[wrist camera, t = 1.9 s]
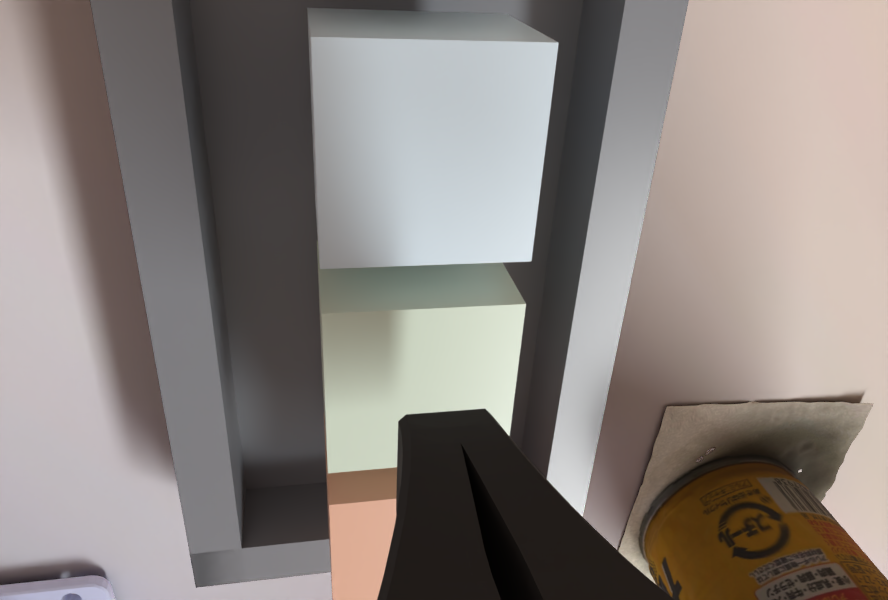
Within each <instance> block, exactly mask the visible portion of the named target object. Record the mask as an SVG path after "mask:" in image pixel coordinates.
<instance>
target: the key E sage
mask: <svg viewBox="0 0 888 600" xmlns="http://www.w3.org/2000/svg"><path fill="white" fill-rule="evenodd" d="M317 258H318V283H319V308H320V332H321V357H322V381H323V399H324V416H325V433H326V450H327V467H328V473H339V472H350V471H361V470H372V469H383V468H395V467H397V450H398V421H399V420H400V419H401V418H403V417H404V416H405V415H406V414H419V413H433V412H446V411H459V410H473V409H486V410H487V411H488V412H489V413H490V414H491V415H492V416H493V417H494V418H495V419H496V421H497V422H498V423H499V424H500V426H501V427H502V428H503V429H504V430H505V432H506V433H507V434H508V435H509V436H510V429H511V421H512V413H513V405H514V397H515V389H516V381H517V373H518V365H519V357H520V349H521V341H522V333H523V325H524V317H525V309H526V303H525V301H524V299H523V298H522V296H521V294H520V292H519V291H518V289H517V287H516V285H515V284H514V282H513V280H512V278H511V277H510V275H509V273H508V271H507V270H506V268H505V266H504V264H503V263H475V264H447V265H420V266H393V267H365V268H338V269H320V264H319V249H318V241H317Z"/></svg>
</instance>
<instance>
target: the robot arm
mask: <svg viewBox="0 0 888 600" xmlns="http://www.w3.org/2000/svg"><path fill="white" fill-rule="evenodd" d="M71 593H73V594H71ZM0 600H115V596H114V592H113V589H112V585H111V583H110V582H109V581H108V580H107V579H105V578H104V577H101V576H97V575H90V576H81V577H72V578H62V579H53V580H44V581H35V582H26V583H16V584H7V585H0ZM377 600H674V599H673V598H672V597H671V596H669V595H668V594H667V593H666V592H665V591H663V590H662V589H661V588H660V587H658V586H657V585H656V584H655V583H654V582H652V581H651V580H650V579H649V578H648V577H646V576H645V575H644V574H643V573H642V572H641V571H640V570H638V569H637V568H636V567H635V566H634V565H633V564H632V563H631V562H629V561H628V560H627V559H626V558H625V557H624V556H623V555H622V554H621V553H619V552H618V551H617V550H616V549H615V548H614V547H613V546H612V545H611V544H610V543H609V542H608V541H607V540H606V539H605V538H604V537H603V536H601V535H600V534H599V533H598V532H597V531H596V530H595V529H594V528H593V527H592V526H591V525H590V524H589V523H588V522H587V521H586V520H585V519H584V518H583V517H582V516H581V515H580V514H579V513H578V512H577V511H576V510H575V509H574V508H573V507H572V506H571V505H570V503H569V502H568V501H567V500H566V499H565V498H564V497H563V496H562V495H561V494H560V493H559V492H558V491H557V490H556V489H555V488H554V487H553V486H552V484H551V483H550V482H549V481H548V480H547V479H546V478H545V477H544V476H543V475H542V474H541V472H540V471H539V470H538V469H537V468H536V467H535V466H534V464H533V463H532V462H531V461H530V460H529V459H528V458H527V456H526V455H525V454H524V453H523V452H522V451H521V450H520V448H519V447H518V446H517V445H516V444H515V442H514V441H513V440H512V439H511V438H510V436H509V435H508V434H507V433H506V432H505V430H504V429H503V428H502V427H501V426H500V424H499V423H498V422H497V421H496V419H495V418H494V417H493V416H492V415H491V414H490V413H489V412H488V411H487V410H486V409H473V410H459V411H446V412H433V413H419V414H406V415H405V416H404V417H403V418H401V419H400V420H399V421H398V450H397V490H396V521H395V526H394V531H393V536H392V540H391V545H390V549H389V554H388V558H387V562H386V567H385V571H384V575H383V579H382V583H381V587H380V591H379V594H378V598H377Z"/></svg>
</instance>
